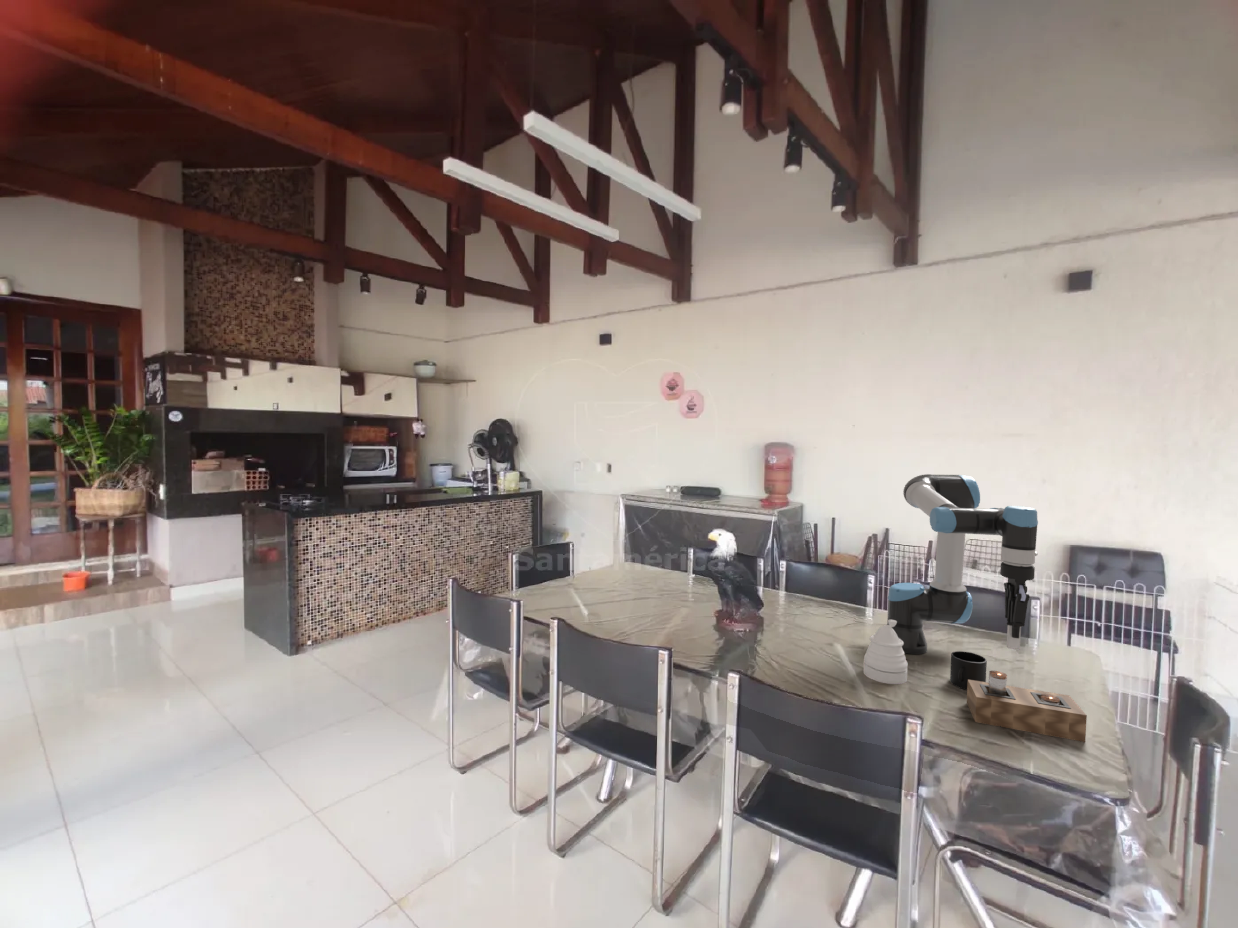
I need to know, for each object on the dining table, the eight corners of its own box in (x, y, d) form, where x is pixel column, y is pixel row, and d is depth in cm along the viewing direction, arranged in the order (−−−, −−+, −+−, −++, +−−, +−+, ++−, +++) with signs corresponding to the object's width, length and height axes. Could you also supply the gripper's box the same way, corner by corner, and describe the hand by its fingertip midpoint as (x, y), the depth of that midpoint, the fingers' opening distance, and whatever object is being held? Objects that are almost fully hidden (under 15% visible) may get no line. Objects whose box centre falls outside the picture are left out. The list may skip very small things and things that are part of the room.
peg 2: (1042, 724, 147) (1043, 698, 147) (1037, 717, 151) (1038, 692, 150) (1060, 727, 146) (1062, 701, 145) (1055, 720, 149) (1056, 695, 149)
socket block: (975, 721, 150) (976, 696, 149) (966, 702, 161) (967, 678, 160) (1085, 741, 140) (1086, 714, 140) (1068, 720, 151) (1069, 694, 151)
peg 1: (990, 699, 152) (991, 674, 151) (986, 693, 155) (987, 669, 155) (1007, 702, 150) (1008, 677, 150) (1003, 696, 154) (1004, 671, 153)
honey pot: (889, 666, 186) (891, 613, 186) (916, 682, 174) (918, 626, 173) (855, 668, 184) (857, 615, 183) (879, 685, 172) (881, 628, 171)
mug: (941, 685, 172) (943, 657, 171) (956, 675, 179) (957, 648, 179) (976, 697, 164) (977, 667, 164) (989, 686, 172) (991, 657, 172)
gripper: (1042, 570, 142) (1037, 658, 144) (1026, 559, 154) (1021, 641, 156) (1008, 567, 145) (1003, 654, 146) (994, 557, 157) (990, 637, 158)
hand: (1013, 647), depth 151 cm, fingers closed
